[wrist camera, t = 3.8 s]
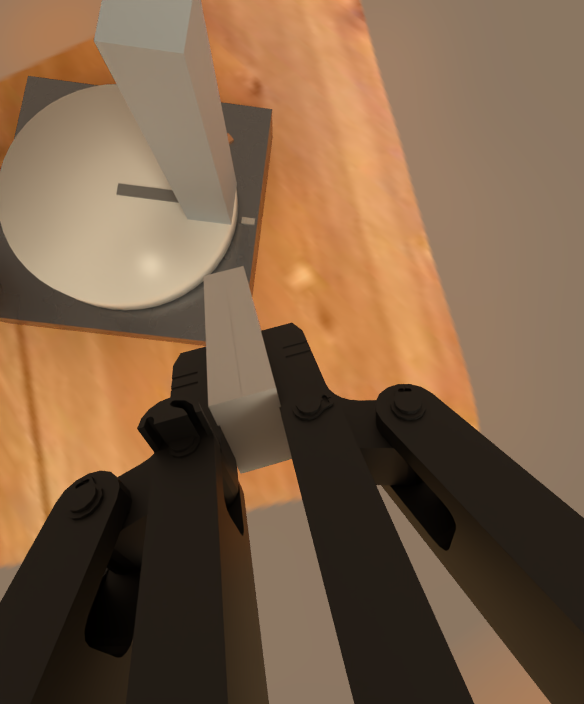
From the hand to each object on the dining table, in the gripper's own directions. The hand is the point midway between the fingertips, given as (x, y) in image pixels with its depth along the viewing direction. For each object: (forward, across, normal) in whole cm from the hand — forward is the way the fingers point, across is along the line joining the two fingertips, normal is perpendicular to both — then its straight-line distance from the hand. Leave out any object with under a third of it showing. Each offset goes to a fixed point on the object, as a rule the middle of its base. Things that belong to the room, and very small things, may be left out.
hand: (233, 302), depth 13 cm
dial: (+17, -6, +1) cm, 18 cm away
